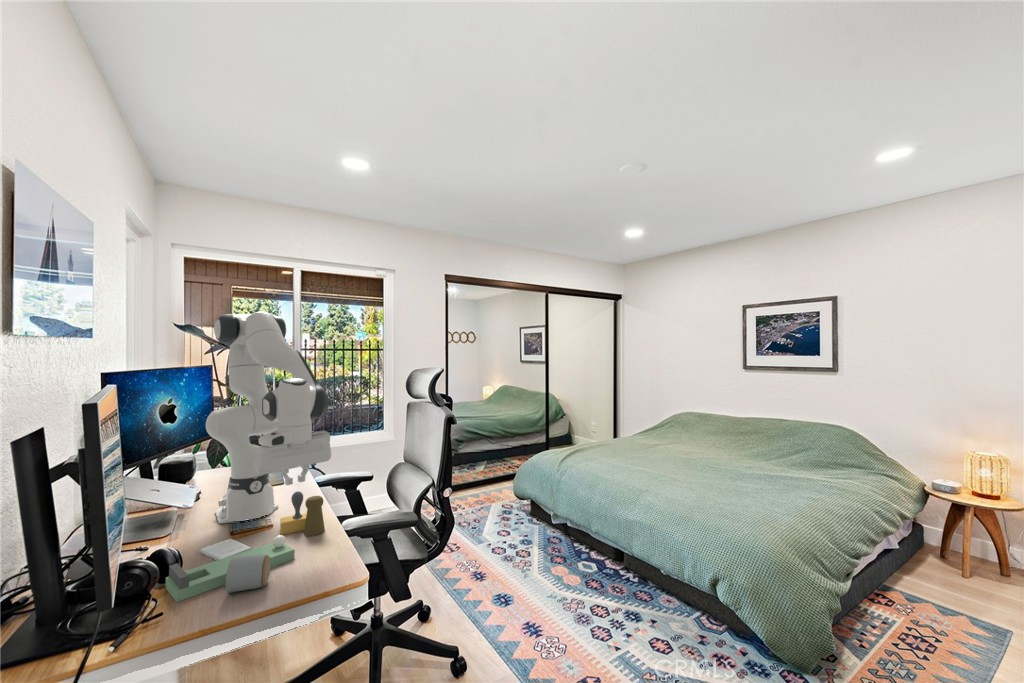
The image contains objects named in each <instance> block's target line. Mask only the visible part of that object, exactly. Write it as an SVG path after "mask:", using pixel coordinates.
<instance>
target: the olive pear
mask: <svg viewBox="0 0 1024 683" xmlns="http://www.w3.org/2000/svg"><path fill="white" fill-rule="evenodd" d="M304 505H305V508H306V509H307V510H306V513H307V515H306V522H305V529H304V530H303V531H304V532H303V535H304V536H306V537H313V536H317V535H321V534H323V533H324V532H326V530H325V521H324V516H323V514H324V513H323V508H322V506H323V505H324V498H323V497H322V496H321V495H314V496H309V497H307V499H306V500H305V504H304Z"/></svg>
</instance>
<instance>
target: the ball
mask: <svg viewBox="0 0 1024 683" xmlns="http://www.w3.org/2000/svg"><path fill="white" fill-rule="evenodd" d="M286 541H287V540H286V537H285V536H284V534H283V535H280V534H279V535H278V534H277V535H276V536H274V538H273V539H272V542H273V546H274V547H276V548H280V547H282V546H283V545H284V544H286Z"/></svg>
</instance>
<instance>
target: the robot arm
mask: <svg viewBox="0 0 1024 683" xmlns="http://www.w3.org/2000/svg"><path fill="white" fill-rule="evenodd" d="M213 326H214V327H213V333H214V335H215V338H216V341H218V342H219V344H224V345H230V346H229V350H228V351H229V352H228V367H227V368H228V383H229V384H228V385H229V386H228V387H229V389H230V391H231V392H232V393H234V395H235V394H236V395H237V396H239V397H240V396H241V397H244V398H245V399H246V400H247V402H248V405H247V404H246V405H237V406H228V407H227V406H226V407H224V408H219V409H215V410H213V411H211V413H209V415H208V416H207V418H206V421H205V430H206V432H207V433H208V435H209V436H210V437H211V438H212V439H214V440H216V441H218V442H219V443H220V444H222V445H223V447H225V449H226V451H227V452H228V455H229V462H230V477H229V481H228V489H227V490H226V492H224V494H223V496H222V499H218V503H217V504H218V507H220V508H217V509H215V513H214V514H215V516H216V519H217V522H218V524H227V523H233V522H232V521H238V520H246V519H253V518H258V517H261V516H264V517H266V516H265V515H267V516H269V515H271V514H272V513H273V512H274V511H275V510H277V509H279V505H278V504H277V503H275V498H274V497H275V496H274V487H273V486H272V485H271V484H269V483H270V475H269V474H273V473H277V472H280V474H281V475H282V477H283V479H284V484H285V486H291V485H293V484H294V482H293V481H294V478H293V477H291V476H289V475H288V474H289V473H290V470H291V469H297V468H301V469H302V471H301V473H300V474H299V475H297V482H298V483H303V482H305V481H306V476H307V473H308V472H309V471H310V465H316V464H320V463H325V462H329V461H330V460H331V458H332V449H331V433H329V432H328V431H326V430H320V431H319V430H318V431H313V428H312V427H313V426H312V425H313V424H312V423H313V422H312V419H319V418H320V417H322V416H323V415H324V414H325V413H326V412H327V411H328V409H329V406H330V400H329V399H330V398H329V396H328V394H327V392H326V390H325V389H324V388H323V387H322V386H321V384H320V383H319V381H318V379H316V377H315V374H314V372H312V370H311V368H310V366H309V365H308V362H307V361H306V359H305V358H304V356H303V355H302V353H301V352H300V351H299V350H296V349H294V348H293V346H291V344H289V343H288V342H287V340H286V339H285V337H286V334H287V325H286V322H285V320H284V318H282V317H281V316H278V315H273V314H271V313H269V312H265V311H255V312H253V313H251V314H249V313H241V314H240V313H239V314H238V313H237V314H233V313H227V314H222V315H220V316H218V317H217V318H216V320H215V322H214V325H213ZM265 367H268V368H274V369H278V370H283V371H285V372H287V373H290V374H291V375H292V376H293V377H290V378H284V379H282V380H280V381H279V383H278V387H277V388H275V389H274V390H269V389H268V387H267V381H266V374H265ZM257 435H258V436H259V435H262V436H260V437H259V438H258V444H259V445H256V444H252V443H251V441H250V437H252V436H257Z"/></svg>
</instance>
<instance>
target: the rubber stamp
mask: <svg viewBox="0 0 1024 683" xmlns="http://www.w3.org/2000/svg"><path fill="white" fill-rule="evenodd" d="M290 499H291V500H290V501H291V503H292V505H293V508H294V511H295V513H294V515H289V516H284V517H281V518H279V520H280V522H279V524H280V526H279V531H280V534H279V535H283V536H284V535H286V534H293V533H297V532H301V531H302V532H303V531H304V529H305V522H306V515H307V512H305V513H301V512H300V511H301V507H302V504H303V501H304V494H303V493H302V492H301V491H299V490H298V491H295V492H294V493H293V494H292V495H291V498H290Z"/></svg>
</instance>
